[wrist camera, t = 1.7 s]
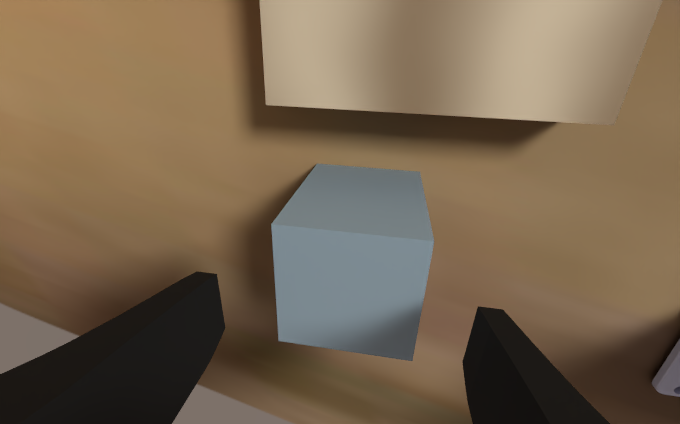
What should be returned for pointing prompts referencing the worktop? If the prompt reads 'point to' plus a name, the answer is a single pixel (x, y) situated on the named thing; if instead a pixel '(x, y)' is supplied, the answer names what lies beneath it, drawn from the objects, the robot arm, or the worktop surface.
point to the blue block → (353, 260)
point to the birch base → (456, 56)
